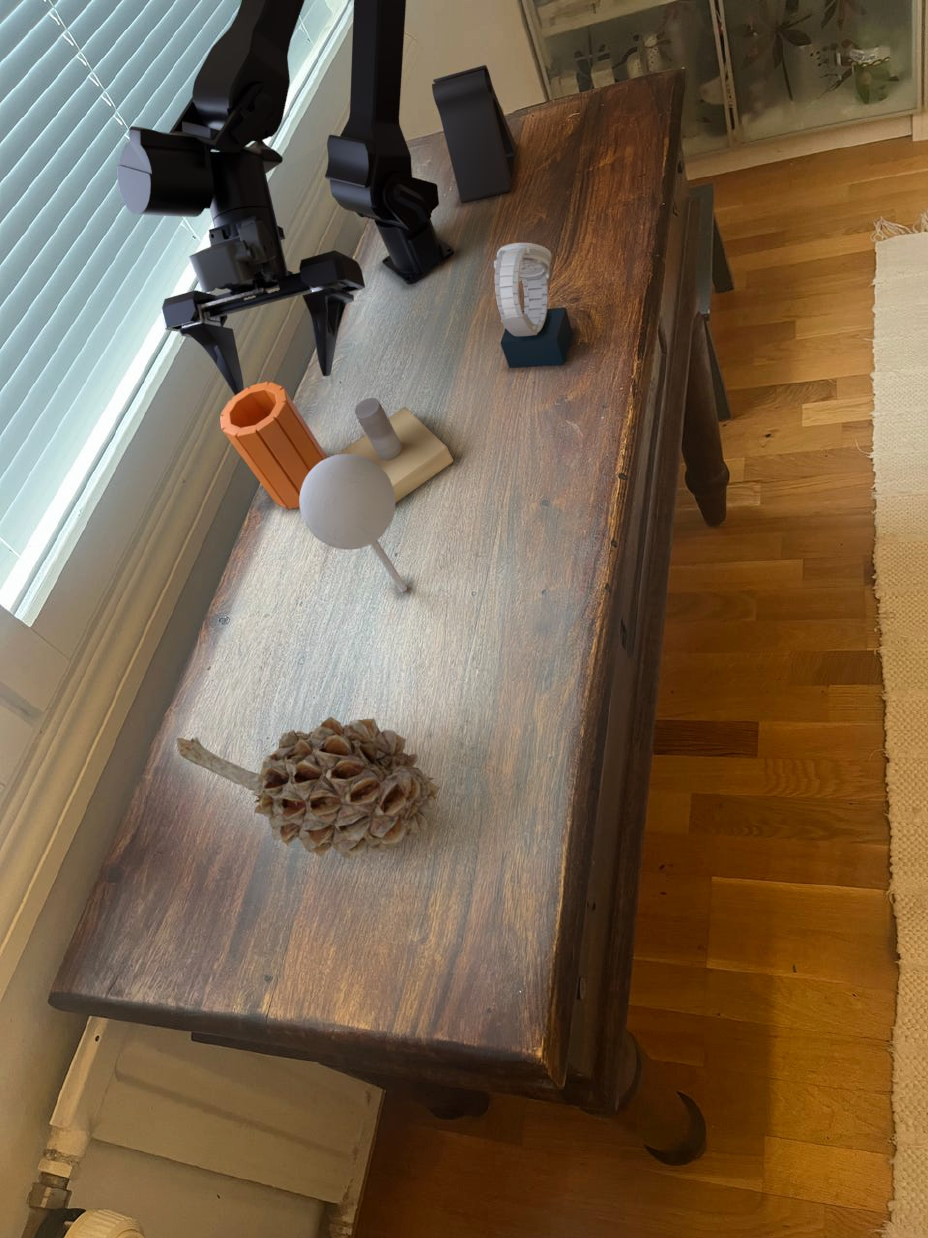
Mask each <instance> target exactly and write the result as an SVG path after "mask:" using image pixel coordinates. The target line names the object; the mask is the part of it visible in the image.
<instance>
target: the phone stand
mask: <svg viewBox="0 0 928 1238" xmlns="http://www.w3.org/2000/svg"><path fill="white" fill-rule="evenodd" d="M432 82H433V83H431V91H432V95H433V100H434V103H435V106H436V108H437V111H438V114H439V118H440V121H441V125H442V129H443V133H444V138H445V141H446V142H445V143H446V146H447V151H448V154H449V158H450V162H451V167H452V170H453V175H454V178H455V182H456V187H457V190H458V196H459V199H460V202H461V204H463V203H468V202H472V201H476V200H481V199H485V198H489V197H494V196H497V195H501V194H506V193H510V192H512V187H513V181H514V172H515V166H516V158H517V152H518V151H517V150H518V148H517V144H516V142H515V140H514V137H513V135H512V132H511V129H510V127H509V124H508V122H507V119H506V116H505V114H504V112H503V109H502V107H501V106H502V105H501V104H500V102H499V99H498V96H497V94H496V91H495V89H494V85H493V82H492V78H491V75H490V71H489V69H488V66H487V65H486V64H483V65H480V66H477V67H476V66H475V67H473V68H469V69H466V70H462V71H459V72H455V73H451V74H448V75H445V76H441V77H437V78H434V79H432Z"/></svg>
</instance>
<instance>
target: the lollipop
mask: <svg viewBox="0 0 928 1238" xmlns="http://www.w3.org/2000/svg"><path fill="white" fill-rule="evenodd" d="M338 454H339V453H338ZM299 505H300V507H299V512H300V514H301V517H302V520H303V522H304V524H305V526H306V528H307V529H308V530H309V532H310V533H311V534H312V535H313V536H314V537H315V538H316V539H317V540H319V541H320V542H321V543H323V544H325V545H327V546H329V547H331V548H334V549H338V550H344V551H345V550H347V551H348V550H349V551H350V550H351V551H352V550H359V549H360V550H361V549H362V548H365V547H367V546H370V547H371V548H372V550H373V552H374V554H375V555H376V556H377V557H378V559H379V561H380V562H381V563H382V566H383V567H384V568H385V570H386V572H387V573H388V575H389V576H390V578H391V579H392V581H393V583H394V584H395V585H396V586H397V588H398V590H399V591H400V592H401V593H404V592H407V590H408V586H407V585H406V582H404V580H403V577H402V576H401V575H400V573H399V572H398V571H397V569H396V568H395V567H396V566H394V564H393V562H392V561H391V560H390V558H389V556H388V555H387V553H386V551H385V550H384V548H383V547H382V545H381V544H380V542H379V541H378V540H379V539H380V538H381V537H382V536H383V535H384V534H385V533H386V531H388V529H389V527H390V525H391V523H392V521H393V518H394V516H395V511H396V503H395V493H394V489H393V486H392V483H391V481H390V479H389V477H388V475H387V474H386V473H385V471H384V470H383V469H382V468H381V467H379V466H378V465H377V464H376V463H374V462H373V461H371V460H369V459H367V458H365V457H362V456H359V455H354V454H339V455H337V454H335V455H331V456H329V457H328V456H327V458H326V459H324V460H323V461H321V462H320V463H318V464H317V465H316V466H315V467H314V468H313V469H312V470H311V471H310V472H309V473H308V475H307V476H306V478H305V480H304V482H303V485H302V488H301V491H300V497H299Z"/></svg>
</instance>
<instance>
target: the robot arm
mask: <svg viewBox="0 0 928 1238" xmlns="http://www.w3.org/2000/svg"><path fill="white" fill-rule="evenodd" d="M305 1H306V0H241V1H240V4H239V6H238V7H239V8H238V10H237V13H236V16H235V17H234V19H233V21H232V23H231V25H230V27H229V28H228V29H227V30H226V31H225V33H223V35H221V37H220V38H219V39H218V40H217V41H216V42H215V43H214V44H213V45H212V46H211V48H210V50H209V52H208V54H207V55H206V58H205V59H204V62H203V63H202V66H201V67H200V69H199V71H198V73H197V74H196V77H195V79H194V82H193V87H192V93H191V94H192V95H191V98H190V100H189V101H188V103H187V104H186V106H185V107H184V109H183V110H182V112H181V113H180V115H179V117H178V118H177V120H175V123H174V125H173V126H172V128H171V129H170V131H169V132H166V131H165V132H164V131H159V130H156V129H152V128H148V127H147V128H146V127H141V126H134V125H131V126H130V127H129V128H128V137H129V141H128V142H127V143H126V144H125V145H124V147H123V149H122V151H121V154H120V159H119V164H118V165H117V166H116V175H117V185H118V189H119V194H120V196H121V199H122V201H123V204H124V205H125V207H126V208H127V210H128V211H129V212H130V213H132V214H133V215H134V216H135V215H136V216H156V217H157V216H158V217H180V218H181V217H183V218H197V217H200V216H201V215H202V214H203V212H204V211H205V209H206V210H210V215H211V219H212V224H213V227H214V228H210V229H208V233H209V234H208V239H209V244H210V246H209V247H206V248H204V249H202V250H199V251H197V252H195V253H193V254H191V255H189V256H188V258H189V260H190V263H191V265H192V269H193V271H194V273H195V276H196V278H197V281H198V283H199V286H200V288H201V291H200V290H196V289H195V290H190V291H187V292H184V293H180V294H177V295H174V296H171V297H167V298H164V300H163V303H162V306H161V309H160V316H161V320H162V323H163V328H164V330H166V331H170V332H171V331H172V332H178V333H179V335H180V337H185V338H191V339H193V340H194V341H196V342H197V343H198V344H199V345H200V346H201V347H202V348H203V349H204V351H205V352H206V353H207V354H208V356H209V357H210V358H211V360H212V362H213V363H214V364H215V366H216V368H217V369H218V371H219V372H220V374H221V376H222V377H223V379H224V380H225V382H226V383H227V385H228V387H229V388H230V390H231V391H232V393H233V395H234V396H236V395H237V394H239V393H240V392H241V391H243V390H244V389H245V387H244V378H243V373H242V368H241V363H240V359H239V354H238V348H237V342H236V337H235V334H234V329H233V328H231V327H226V326H225V323H226V322H227V320H228V318H229V317H228V315H231V314H232V315H233V314H235V313H240V312H242V311H247V310H250V309H253V308H256V307H260V306H264V305H267V304H268V305H269V304H271V303H276V302H279V301H282V300H286V299H290V298H293V297H297V296H300V295H302V298H303V301H304V303H305V305H306V308H307V310H308V313H309V315H310V318H311V319H310V320H311V325H312V326H311V327H312V331H313V338H314V343H315V350H316V356H317V362H318V364H319V368H320V371H321V375H322V376H323V377H330V376H331V374H332V368H333V363H334V358H335V351H336V345H337V339H338V336H339V335H338V334H339V330H340V327H341V323H342V320H343V316H344V314H345V309H346V306H347V304H349V303H352V302H354V301H355V297H354V294H351V293H353V292H354V293H355V292H358V291H362V290H363V289H365V288H366V285H365V279H364V275H363V271H362V268H361V266H360V264H359V262H358V261H357V260H355V259H354V258H353V257H351V256H348V255H346V254H344V253H342V252H339V251H337V250H335V249H334V250H330V251H328V252H323V253H319V254H317V255H313V256H310V257H305V258H302V259H300V263H299V266H298V267H299V268H298V269H299V272H295V273H293V271H290V270H288V267H287V262H286V258H285V254H284V249H283V244H282V241H283V240H285V239H286V236H285V232H284V228H283V227H282V226H280V225H278V222H277V218H276V213H275V208H274V204H273V200H272V196H271V191H270V186H269V182H268V177H267V174H268V173H269V172H270V171H272V170H273V169H275V168H276V167H278V166H280V164H283V161H284V159H283V156H282V155H281V154H280V153H279V152H278V151H277V150H275V149H274V148H272V147H270V146H269V145H267V144H266V143H265V142H264V140H267V139H269V138H272V137H273V136H274V135H275V134H276V133H277V132H278V130H279V128H280V126H281V124H282V122H283V118H284V114H285V110H286V105H287V99H288V94H289V90H290V85H291V77H290V68H289V58H288V56H289V51H290V47H291V41H292V38H293V36H294V32H295V30H296V26H297V24H298V21H299V18H300V15H301V12H302V9H303V6H304V4H305ZM406 8H407V0H353V13H352V15H353V17H352V42H351V43H352V44H351V69H350V70H351V72H350V94H349V95H350V98H349V115H348V119H347V121H346V124H345V126H344V128H343V129H342V131H341V133H340V135H336V134H329V135H328V137H327V142H326V149H327V167H326V171H325V175H324V178H325V179H327V180H329V186H330V193H331V196H332V197H333V198H334V199H335V201H336V202H337V204H338V205H339V206H340V207H341V208H343V209H344V210H345V211H350V212H354V213H356V214H357V215H358V216H359V218H367V219H370V220H373V221H374V223H375V225H376V228H377V230H378V233H379V235H380V237H381V239H382V242H383V244H384V246H385V248H386V251H387V253H388V256H386V257H384V258H383V259H382V261H381V263H382V265H383V267H385V268H386V269H388V270H389V271H390V272H391V273H393V275H395V276H396V277H397V278H399V279H400V280H402V281H403V282H404V283H405V284H407V285H412V284H413V283H414V282H416V281H417V280H419V279H420V278H422V277H423V276H425V275H426V274H428V273H429V272H430V271H433V269H435V268H436V267H438V266H439V265H441V264H443V263H444V262H445V261H446V260H448V259H450V258H451V257H453V255H454V254H455V249H454V247H452V246H451V245H449V244H448V243H447V242H445V241H443V240H442V239H440V238H439V237H438V235H437V231H436V230H435V227H434V224H433V221H432V219H431V218H432V213H433V211H434V210H435V209H436V208H437V207H438V206H439V205H440V199H439V189H438V187H439V186H438V184H437V183H434V182H431V181H428V180H425V179H421V178H418V177H415V176H413V167H412V154H411V152H410V149H409V147H408V144H407V142H406V139H405V138H406V137H405V136H404V134H403V130H402V128H401V125H400V111H401V110H400V109H401V94H402V93H401V92H402V79H403V78H402V76H403V60H404V59H403V58H404V42H405V25H406V12H407V11H406V10H407V9H406ZM250 143H251V144H250ZM249 144H250V145H249ZM278 288H279V289H278ZM216 289H218V290H226V289H227V290H228V292H225V293H220V294H218V295H216V294H212V293H210V292H213V291H215V290H216ZM274 289H278V290H274ZM271 290H274V291H271ZM268 291H270V292H268Z"/></svg>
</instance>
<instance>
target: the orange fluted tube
mask: <svg viewBox="0 0 928 1238" xmlns="http://www.w3.org/2000/svg"><path fill="white" fill-rule="evenodd" d="M219 419H220V420H219V421H220V427H221V428H220V429H221V431H222V432H223V433H224V434H225V436H226V437H227V439H228V440H229V441H230V443H231V445H233V447H234V448H235V450H236V451H237V452H238V454H239V455H240V457H241V458H242V459H243V460H244V462H245V463H246V464H247V466H248V468H249V469H250V470H251V471H252V473H253V475H254V476H255V477H256V479H257V480H258V481H259V483H260V484H261V485H262V487H263V488H264V489H265V491H266V492H267V494H268V496H270V498H271V499H272V500H273V502H274V503H275V504H276V505H279V506H281V507H283V508H284V509H289V510H292V509H293V510H294V509H299V508H300V505H299V497H300V491H301V488H302V485H303V482H304V480H305V478H306V476H307V475H308V473H309V472H310V471H311V470H312V469H313V468H314V467H315V466H316V465H317V464H318V463H320V462H321V461H323V460H324V459H326V458H328V455H327V454H326V453H325V451H324V449H323V448H322V447H321V445H320V443H319V442H318V440H317V438H316V436H315V435H314V434H313V432H312V430H311V428H310V427H309V426H308V423H307V422H306V421H305V418H304V417H303V416H302V414H301V413H300V411H299V409H298V407H297V406H296V405H295V403H294V401H293V400H292V398H291V396H290V395H289V394H288V392H287V390H286V389H285V387H284V386H282V385H280V384H277V383H275V382H273V381H270V382H269V381H265V382H261V383H256V384H252V385H250V387H248V386H247V387H246V388H244V390H243V391H241V392H240V393H239V394H237V395H236V396H235V395H234V396H233V397H231V400H229V401H228V402H227V403H226V405H225V407H224V409H223V410H222V411H221V414H220V417H219Z"/></svg>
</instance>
